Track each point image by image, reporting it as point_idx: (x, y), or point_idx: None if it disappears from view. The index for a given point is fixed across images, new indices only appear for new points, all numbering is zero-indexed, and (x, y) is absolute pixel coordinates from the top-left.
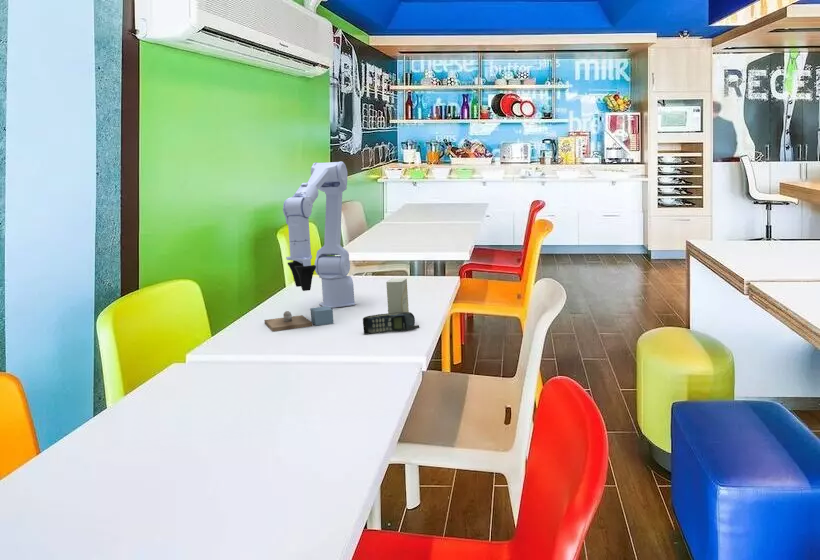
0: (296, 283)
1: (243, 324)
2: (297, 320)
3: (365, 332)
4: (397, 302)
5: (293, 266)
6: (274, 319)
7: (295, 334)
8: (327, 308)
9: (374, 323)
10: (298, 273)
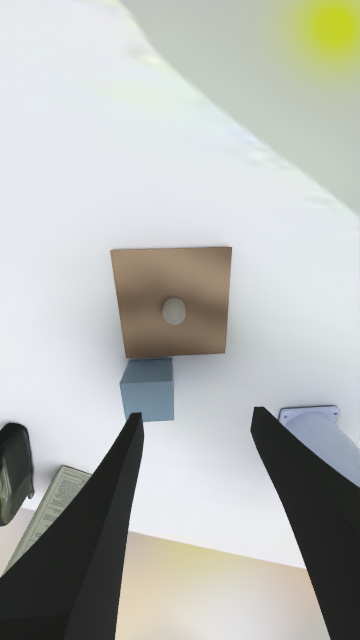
0: (261, 420)
1: (260, 177)
2: (170, 331)
3: (3, 427)
4: (20, 541)
5: (353, 554)
6: (219, 277)
7: (55, 300)
8: (143, 415)
9: None
10: (68, 525)
